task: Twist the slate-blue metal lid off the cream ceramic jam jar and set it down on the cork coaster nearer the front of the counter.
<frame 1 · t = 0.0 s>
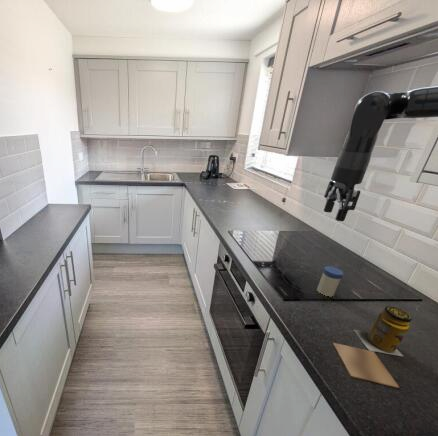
hand: (332, 216, 76), 32 cm above the worktop, tool pointing down, fingers open, 8 cm apart
jar: (325, 292, 89), on the worktop
lid: (333, 271, 85), point 10 cm above the worktop, screwed on, not yet turned
coaster: (362, 364, 61), on the worktop
condiment: (376, 343, 68), on the worktop
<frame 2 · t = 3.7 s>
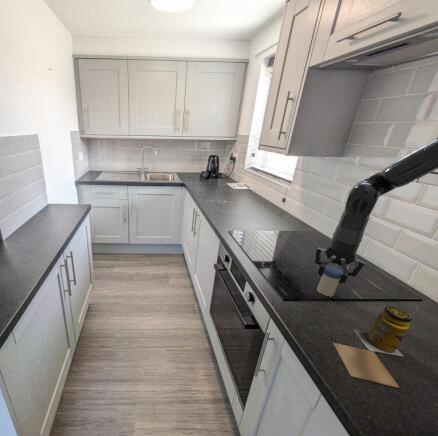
hand: (330, 278, 86), 6 cm above the worktop, tool pointing down, fingers closed on lid, 5 cm apart
lid: (333, 271, 85), point 10 cm above the worktop, screwed on, not yet turned, touching gripper
everything else where it was.
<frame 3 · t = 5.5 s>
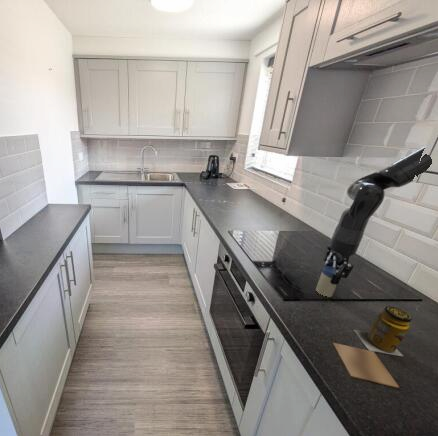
hand: (330, 278, 86), 7 cm above the worktop, tool pointing down, fingers closed on lid, 5 cm apart
lid: (333, 271, 85), point 10 cm above the worktop, off its thread, touching gripper
everything else where it was.
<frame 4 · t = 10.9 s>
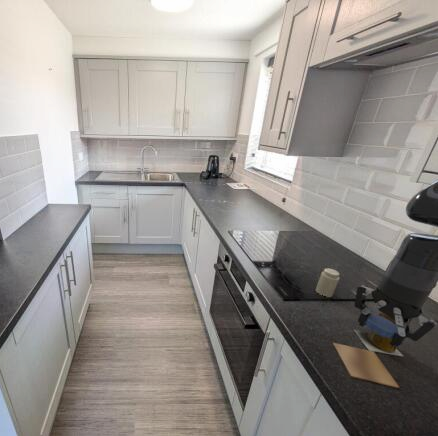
hand: (377, 334, 58), 10 cm above the worktop, tool pointing down, fingers closed on lid, 5 cm apart
lid: (382, 324, 57), point 14 cm above the worktop, off its thread, touching gripper
everything else where it was.
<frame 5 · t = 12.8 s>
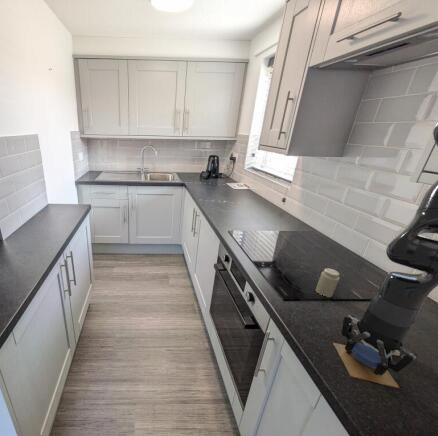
hand: (362, 362, 61), 0 cm above the worktop, tool pointing down, fingers closed on lid, 5 cm apart
lid: (367, 353, 60), point 4 cm above the worktop, off its thread, touching gripper
everything else where it was.
when the fingers open (1 cm above the worktop, at t = 18.1 s): lid stays where it is, resting on coaster.
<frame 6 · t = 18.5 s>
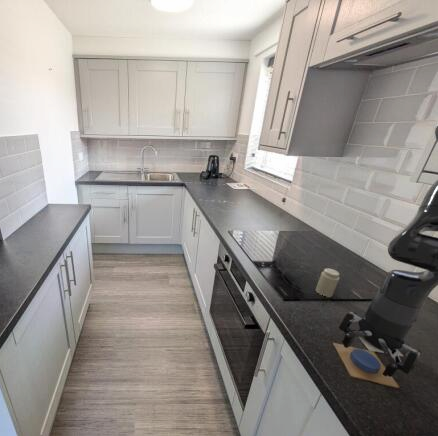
hand: (365, 359, 61), 2 cm above the worktop, tool pointing down, fingers open, 8 cm apart
lid: (365, 359, 61), point 2 cm above the worktop, off its thread, touching coaster
everything else where it was.
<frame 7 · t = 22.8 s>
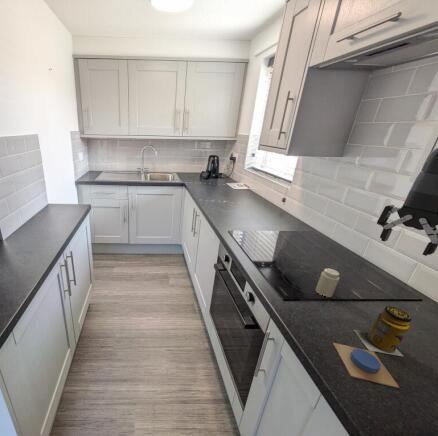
hand: (403, 247, 64), 28 cm above the worktop, tool pointing down, fingers open, 8 cm apart
nothing on the worktop moved.
at the end: lid came off its thread; the gripper is holding nothing; lid inside the target area on the coaster (0.1 cm from its centre), point 1.9 cm above the coaster's base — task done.
